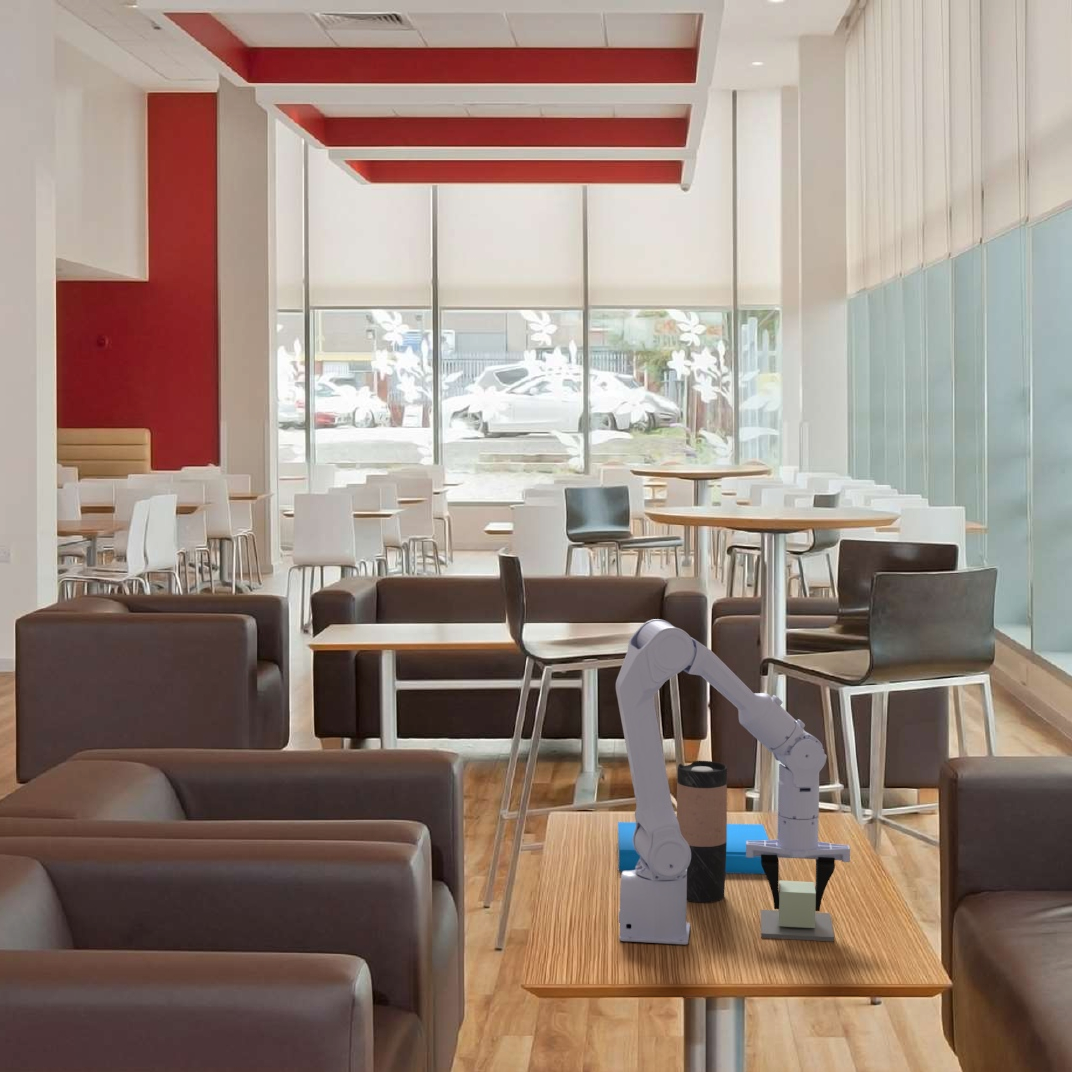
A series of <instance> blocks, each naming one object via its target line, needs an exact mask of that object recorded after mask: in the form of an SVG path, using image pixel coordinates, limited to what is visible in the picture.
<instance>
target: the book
mask: <svg viewBox="0 0 1072 1072" xmlns="http://www.w3.org/2000/svg"><path fill="white" fill-rule="evenodd" d="M635 828H636V821H635V822H633V821H632V822H627V821H626V822H624V821H623V822H622V821H620V822H619V821H618V822H617V850H618V852H617V853H618V855H619V857H618V872H622V871H631V870H635V867H636V865H637V863H638V861H639V859H640V855H639V854H638V853H637V852H636V850H635V848H634V846H633V834H634V831H635ZM761 840H770V839H769V837H768V834H767V832H766V829H765V826H764V824H758V823H757V824H755V823H754V824H745V823H742V824H741V823H727V841H726V842H727V845H726V868H725V874H753V875H755V874H758V875H759V874H761V875H766V874H765V872H764V870H763V868H762V865H761V857H757V856H754V857H753V858H747V857H746V841H761Z"/></svg>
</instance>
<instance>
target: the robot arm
mask: <svg viewBox="0 0 1072 1072" xmlns="http://www.w3.org/2000/svg"><path fill="white" fill-rule="evenodd" d="M683 671H684V672H685V673H687V674H689V675H694V676H695V675H696V676H700V677H702V678H703V679H704V680H705V681H706V682H707V683H708V684H709V685H710V686H712V687H713V688H714V689H716V690H717V692H718V693H720V694H721V695H722V697H724V698H725V699H727V700H728V701H729V702H730V703H731V704H732V705H733V706H734V707H736V708H737V711H738V713H737V714H738V722H739V725H741V727H743V728H744V729H746V730H747V732H748V733H750V735H752V736H753V738H755V739H756V740H757V741H758V742H759V743H761V745H763V746H764V747H765V748H766V749H767V751H769V752H770V753H772V755H773V758H774V759H775V760H776V761H778V762H779V763H780V764H778V781H777V782H778V783H777V784H778V787H777V789H778V791H777V792H778V793H777V804H778V805H777V837H776V838H777V839H769V840H761V841H746V857H747V858H753V857H754V856H757V857H761V865H762V868H763V870H764V872H765V874H764V875H765V877H766V879H767V882H768V884H769V887H770V891H771V895H772V899H773V908H774V909H773V910H779V877H780V876H779V875H780V874H779V873H780V871H779V870H780V868H779V867H780V865H779V861H780V860H779V859H780V858H781V859H782V858H783V859H785V858H786V859H805V860H815V891H816V909H815V912H820V911H821V905H822V904H821V903H822V899H823V896H824V892H825V890H826V887H827V885H828V882H830V881H829V880H830V879H831V877H832V875H833V874H834V871H835V868H836V867H835V866H836V863H835V861H841V862H843V863H850V862H851V847H850V844H840V843H830V842H824V841H819V820H820V819H819V817H820V816H819V813H820V772H821V770H822V769H823V768H824V766H825V764H826V763H827V762H826V761H827V757H828V755H827V754H825V749H823V748H824V746H823V744H822V742H821V740H819V739H818V738H817V737H816V736H814V735H813V734H811V733H809V732H807V731H806V730H805V727H806V725H805V723H804V721H802V720H801V719H797V720H796V719H795V718H794V717H793V716H792V715H791V714H790V712H788V711H787V710H785V708H784V707H782V706H781V705H782V704H783V701H782V699H780V698H779V697H778V696H776V695H775V694H773V695H772V696H771V695H770V694H769V693H767V692H760V693H759V692H757V693H756V692H755V693H754V692H753V691H752V690H751V688H749V687H748V686H747V685H746V684H745V683H744V682H743V681H742V680H741V679H740V678H739V676H738V675H736V673H734V672H733V670H731V669H730V668H729V667H728V666H727V665H726V663H724V662H723V661H722V660H721V658H720V657H718V656H717V654H715V653H714V652H713V651H712V650H711V649H709V648H708V647H707V646H705V645H704V644H703V643H701V642H700V641H698V640H697V639H695V638H693V637H691V635H689V633H687V632H686V631H685V630H683V629H681V628H679V627H676V626H674V625H673V624H671V623H670V622H669V621H667V620H664V619H662V618H661V619H659V618H657V619H656V618H655V619H650V620H647V621H645V622H644V623H643V624H641V626H640V627H639V628H638V629H637V630H636V631H635V632H634V633H633V634H632V636H630V638H629V640H628V645H627V651H626V654H625V657H624V660H623V662H622V665H621V667H620V670H619V672H618V675H617V678H616V680H615V692H616V698H617V703H618V708H619V709H618V710H619V714H620V720H621V726H622V732H623V736H624V743H625V747H626V753H627V754H626V755H627V759H628V760H627V761H628V764H629V771H630V776H631V781H632V788H633V792H634V798H635V803H636V804H635V805H636V808H635V811H634V818H635V823H636V828H635V831H634V834H633V846H634V848H635V850H636V852H637V853H638V854H639V855H640V859H639V861H638V863H637V865H636V867H635V870H631V871H621V876H620V888H619V889H620V890H619V910H618V923H619V941H621V942H629V943H630V942H633V943H648V944H649V943H650V944H651V943H652V944H653V943H654V944H665V945H666V944H668V945H688V944H689V938H690V937H689V936H690V932H691V931H690V929H691V923H690V922H689V921H688V922H687V913H688V912H687V911H688V910H687V905H688V904H687V902H688V901H687V868H688V866H689V864H690V861H691V849H690V846H689V845H688V843H687V842H686V840H685V839H684V838H683V836H682V834H681V831H680V826H679V822H678V820H677V813H676V812H675V809H674V807H673V803H672V797H671V790H670V786H669V780H668V774H667V767H666V762H665V758H664V750H663V746H662V738H661V735H660V728H659V723H658V718H657V711H656V707H655V706H656V705H655V700H654V697H655V695H656V694H657V692H658V691H659V690H660V689H661V688H662V686H663V685H664V684H665V682H667V681H668V680H670V679H672V678H673V677H675V676H677V675H678V674H679V673H681V672H683Z"/></svg>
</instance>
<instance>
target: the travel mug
mask: <svg viewBox="0 0 1072 1072" xmlns="http://www.w3.org/2000/svg"><path fill="white" fill-rule="evenodd" d="M676 775H677V776H676V777H677V778H676V781H677V783H676V785H677V787H676V791H677V792H676V817H677V820H678V822H679V826H680V831H681V834H682V836H683V838H684V839H685V840H686V842H687V843H688V845H689V846H690V849H691V861H690V864H689V866H688V868H687V902H691V903H700V904H703V903H704V904H705V903H714V902H715V903H716V902H719V901H722V899H724V897H725V891H726V890H725V888H726V887H725V886H726V885H725V884H726V873H725V868H726V845H727V842H726V841H727V824H728V822H727V821H728V819H727V818H728V817H727V815H728V807H727V805H728V804H727V803H728V802H727V801H728V799H727V798H728V796H727V795H728V768H727V765H725V764H724V763H720V762H716V761H711V760H695V761H692V762H691V763H690V764H687V765H683V764H682V762H681V763H679V764H678V765H677V774H676Z"/></svg>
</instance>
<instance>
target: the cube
mask: <svg viewBox="0 0 1072 1072" xmlns="http://www.w3.org/2000/svg"><path fill="white" fill-rule="evenodd" d="M815 885H816V883H815V881H797V880H780V879H778V890H779V909H778V911H779V926H784V927H803V928H815V912H816V911H815V909H816V891H815Z"/></svg>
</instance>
